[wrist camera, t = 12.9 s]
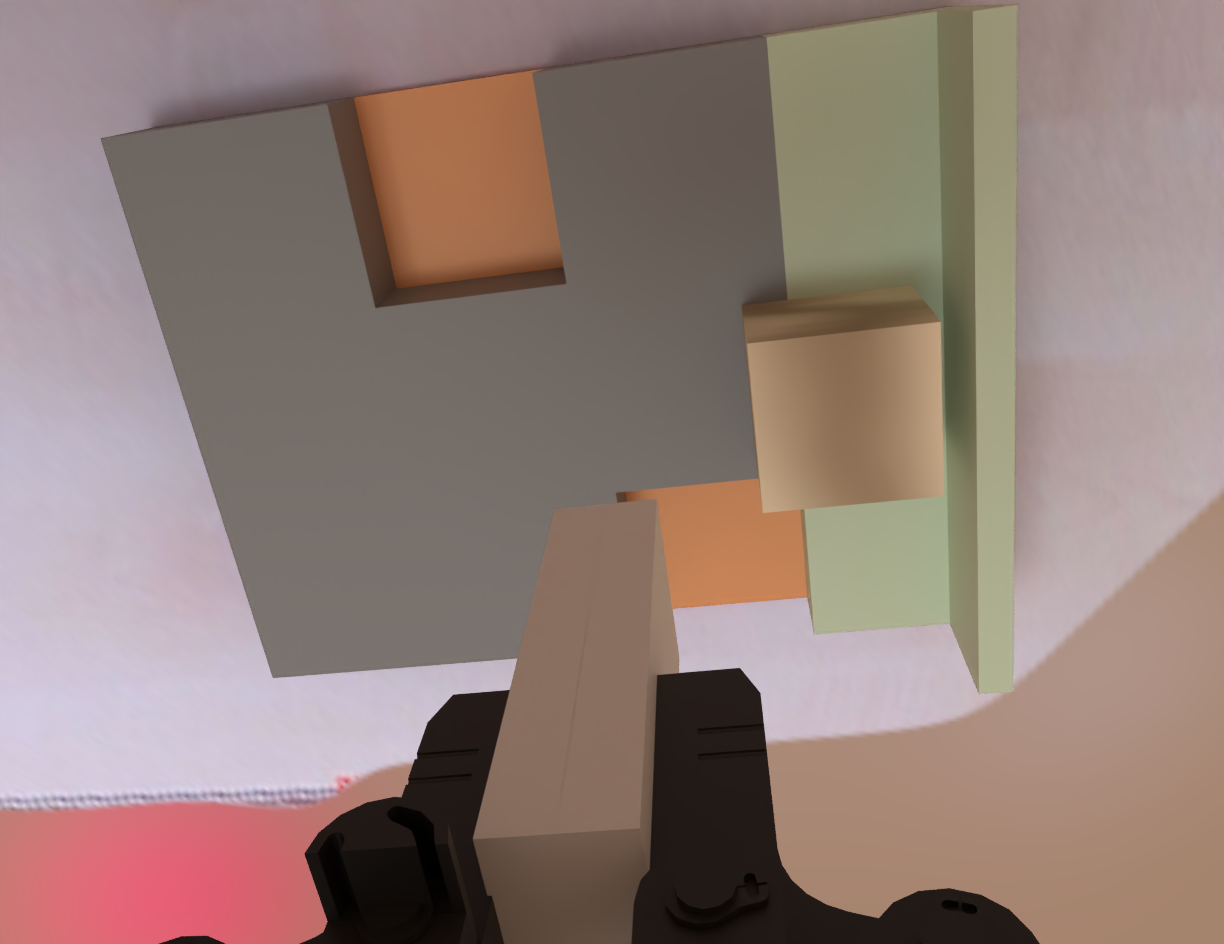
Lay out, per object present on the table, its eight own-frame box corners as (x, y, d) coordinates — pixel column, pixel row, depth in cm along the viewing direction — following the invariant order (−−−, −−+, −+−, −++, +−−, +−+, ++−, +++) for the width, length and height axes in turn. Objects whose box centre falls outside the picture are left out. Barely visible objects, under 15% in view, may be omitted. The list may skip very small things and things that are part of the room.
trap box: (301, 633, 41) (228, 748, 35) (149, 128, 34) (20, 155, 27) (960, 577, 38) (1013, 691, 31) (951, 6, 31) (1017, 4, 24)
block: (755, 458, 33) (762, 513, 30) (741, 305, 31) (746, 343, 28) (916, 442, 33) (943, 496, 29) (912, 285, 31) (940, 322, 27)
